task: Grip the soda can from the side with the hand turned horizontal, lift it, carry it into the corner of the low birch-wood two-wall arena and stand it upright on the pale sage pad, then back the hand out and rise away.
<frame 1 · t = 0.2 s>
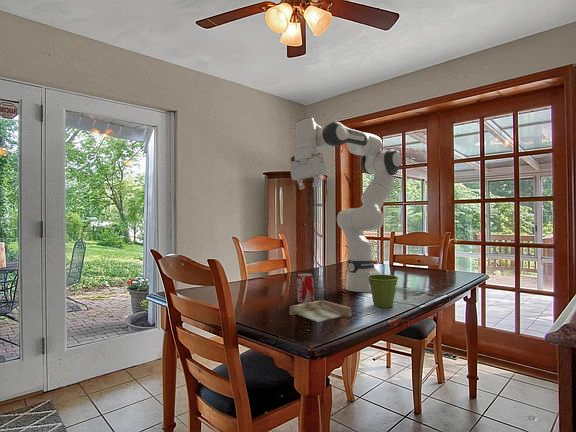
hand: (308, 188, 152), 47 cm above the table, tool pointing down, fingers open, 8 cm apart
soda can: (305, 304, 142), on the table
plant pot: (383, 306, 138), on the table
arena: (320, 315, 126), on the table
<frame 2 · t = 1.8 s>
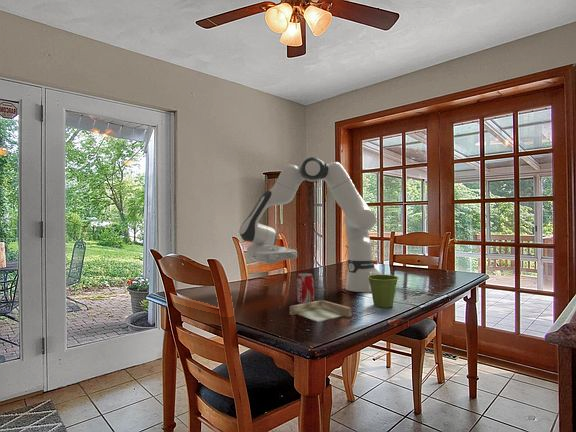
hand: (286, 256, 153), 18 cm above the table, tool horizontal, fingers open, 8 cm apart
nothing on the table moved.
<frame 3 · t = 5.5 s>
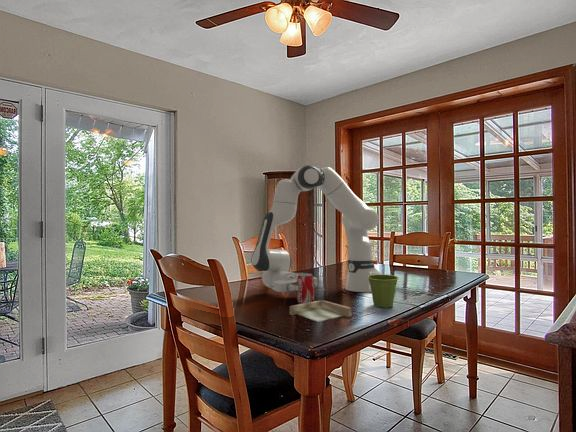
hand: (306, 286, 142), 7 cm above the table, tool horizontal, fingers closed on soda can, 7 cm apart
soda can: (305, 304, 142), on the table, touching gripper
everything else where it was.
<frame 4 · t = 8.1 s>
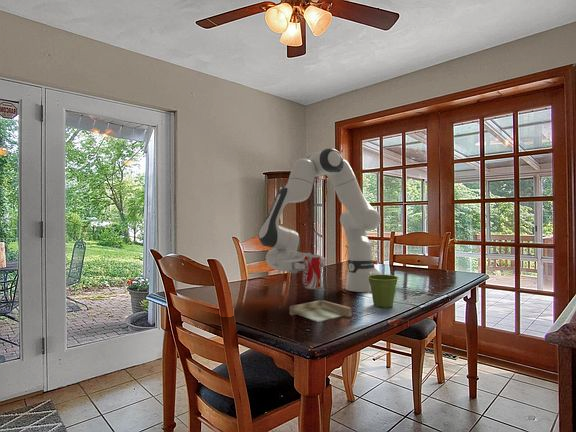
hand: (314, 265, 131), 17 cm above the table, tool horizontal, fingers closed on soda can, 7 cm apart
soda can: (311, 288, 132), point 8 cm above the table, touching gripper
everything else where it was.
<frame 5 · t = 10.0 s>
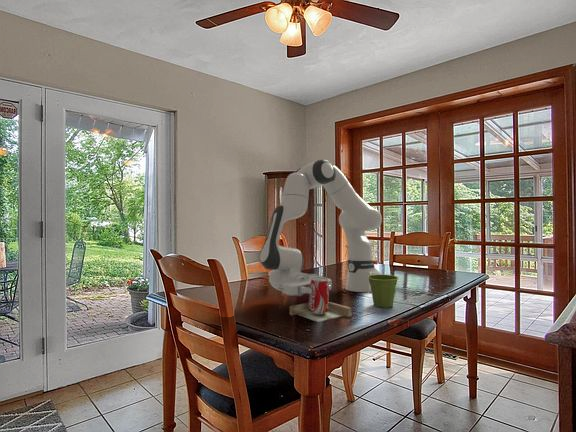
hand: (320, 289, 125), 9 cm above the table, tool horizontal, fingers closed on soda can, 7 cm apart
soda can: (318, 313, 126), point 1 cm above the table, touching gripper
everything else where it was.
when the fingers open (9 cm above the table, at t = 10.7 s): soda can stays where it is, resting on arena.
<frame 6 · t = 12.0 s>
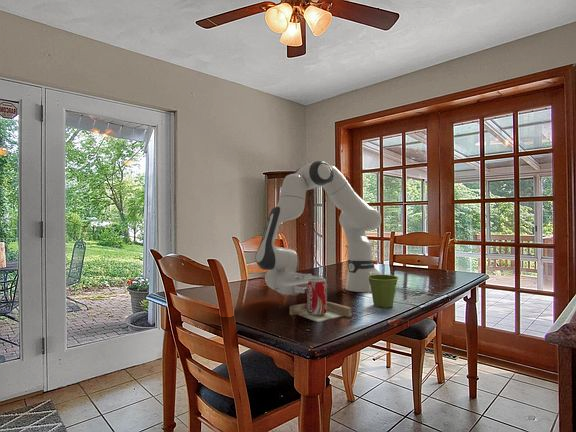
hand: (315, 289, 128), 9 cm above the table, tool horizontal, fingers open, 8 cm apart
soda can: (317, 314, 126), resting on arena
everything else where it was.
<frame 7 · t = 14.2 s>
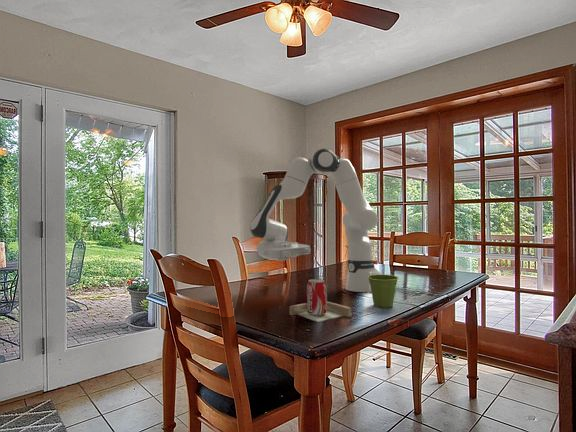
hand: (300, 252, 147), 20 cm above the table, tool horizontal, fingers open, 8 cm apart
nothing on the table moved.
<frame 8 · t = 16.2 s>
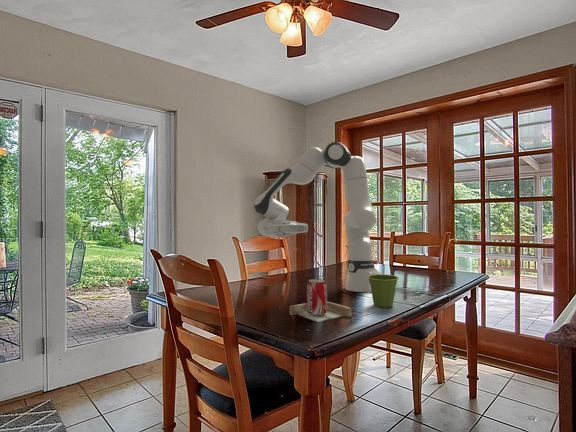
hand: (297, 228, 154), 30 cm above the table, tool horizontal, fingers open, 8 cm apart
nothing on the table moved.
at the end: soda can 1.1 cm off-centre on the arena, point 0.2 cm above the arena's base; soda can tilted 0°; the gripper is holding nothing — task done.
